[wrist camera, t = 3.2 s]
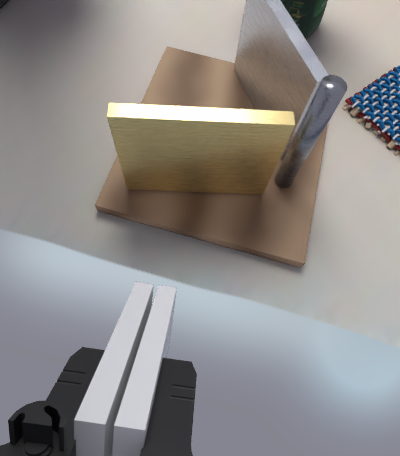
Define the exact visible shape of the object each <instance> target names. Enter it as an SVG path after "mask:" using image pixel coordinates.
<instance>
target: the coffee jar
mask: <svg viewBox="0 0 400 456" xmlns="http://www.w3.org/2000/svg"><path fill="white" fill-rule="evenodd" d="M280 1H281V2H282V4H283V5H284V7H285V8H286V10H287V11H288V13H289V14H290V16H291V17H292V19H293V21H294V22H295V24H296V25H297V27H298V28H299V30H300V31H301V33H302V34H303V36H304V38H305V39H306V38H307V37H309V36H310V35H311V34H312V33H313V32H314V31H315V30H316V29H317V27H318V26H319V24H320V22H321V19H322V17H323V14H324V11H325V8H326V4H327V1H328V0H280Z"/></svg>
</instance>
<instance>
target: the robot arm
mask: <svg viewBox="0 0 400 456" xmlns="http://www.w3.org/2000/svg"><path fill="white" fill-rule="evenodd" d="M7 1H8V0H0V7H1V6H2V5H4V4H5V3H6V2H7ZM152 296H153V284H148V283H141V282H135V284H134V287H133V289H132V291H131V293H130V296H129V298H128V300H127V302H126V305H125V307H124V309H123V311H122V314H121V316H120V318H119V320H118V323H117V325H116V327H115V330H114V332H113V334H112V336H111V338H110V341H109V343H108V345H107V347H106V349H105V350H99V349H92V348H85V347H82V348H81V349H80V350H78V351H77V352H76V353H75V354H74V355H72V356H71V357H70V359H69V360H68V362H67V364H66V366H65V367H64V369H63V372H62V373H61V375H60V377H59V378H58V380H57V383H55V385H54V387H53V389H52V390H51V392H50V394H49V396H48V398H47V399H46V401H36V402H33V403H30V404H27V405H25V406H24V407H22V408H20V409H19V410H17V411H16V412H15V413H14V414H13V415H12V417H11V418H10V419H9V420H8V423H9V434H10V443H7V444H5V445H1V446H0V456H193V455H192V452H191V435H192V424H193V412H194V399H195V388H196V376H197V375H196V371H195V369H194V367H193V364H192V362H189V361H182V360H175V359H167V353H168V348H169V342H170V337H171V328H172V320H173V312H174V305H175V297H176V287H169V286H162V285H159V286H158V289H157V292H156V295H155V298H154V301H153V305H152ZM151 306H152V308H151Z"/></svg>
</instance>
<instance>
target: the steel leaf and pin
mask: <svg viewBox="0 0 400 456" xmlns="http://www.w3.org/2000/svg"><path fill="white" fill-rule="evenodd" d="M234 71H235V73H236V75H237V77H238V79H239V81H240V83H241V85H242V87H243V89H244V91H245V93H246V95H247V97H248V99H249V100H250V102H251V104H252V106H253V108H254V110H271V111H292V112H294V120H295V126H294V129H293V131H292V133H291V135H290V137H289V139H288V142H287V144H286V146H285V148H284V150H283V152H282V155H281V157H280V160H283V161H282V163H281V165H280V167H279V169H278V172H277V174H276V176H275V179H274V180H275V183H276V184H277V185H278V186H279V187H281V188H288V187H290V186H291V185H292V183H293V181H294V179H295V178H296V176H297V174H298V173H299V171H300V169H301V167H302V166H303V164H304V162H305V161H306V159H307V157H308V155H309V154H310V152H311V150H312V149H313V147H314V145H315V144H316V142H317V140H318V138H319V137H320V135H321V133H322V132H323V130H324V128H325V126H326V125H327V123H328V121H329V120H330V118H331V116H332V114H333V113H334V111H335V109H336V108H337V106H338V104H339V103H340V101H341V99H342V97H343V96H344V94H345V92H346V90H347V84H346V82H345V81H344V80H343V79H342V78H340V77H338V76H335V75H328V73H327V72H326V70H325V68H324V67H323V65H322V64H321V62H320V61H319V59H318V58H317V56H316V55H315V53H314V51H313V50H312V48H311V47H310V45H309V44H308V42H307V41H306V39H305V38H304V36H303V34H302V33H301V31H300V30H299V28H298V27H297V25H296V24H295V22H294V21H293V19H292V17H291V16H290V14H289V13H288V11H287V10H286V8H285V7H284V5H283V4H282V2H281V1H280V0H246V5H245V10H244V16H243V21H242V27H241V33H240V38H239V44H238V49H237V55H236V60H235V66H234Z"/></svg>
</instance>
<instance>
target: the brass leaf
mask: <svg viewBox="0 0 400 456" xmlns="http://www.w3.org/2000/svg"><path fill="white" fill-rule="evenodd" d="M107 118H108V122H109V126H110V129H111V133H112V137H113V140H114V144H115V147H116V151H117V155H118V158H119V162H120V166H121V169H122V173H123V176H124V180H125V184H126V187H127V189H130V190H158V191H186V192H214V193H242V194H264V191H265V189H266V187H267V185H268V183H269V181H270V178H271V176H272V174H273V172H274V170H275V168H276V165H277V163H278V161H279V159H280V157H281V155H282V152H283V150H284V148H285V146H286V144H287V142H288V139H289V137H290V135H291V133H292V131H293V129H294V126H295V120H294V112H292V111H271V110H250V109H229V108H208V107H187V106H166V105H145V104H124V103H109V106H108V113H107Z"/></svg>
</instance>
